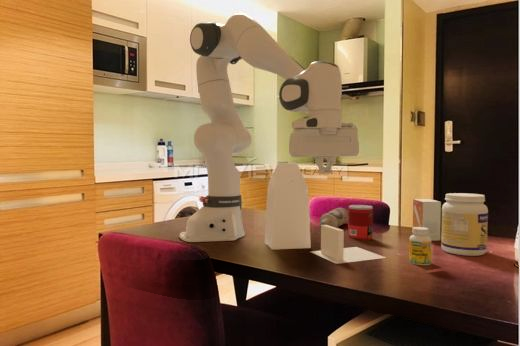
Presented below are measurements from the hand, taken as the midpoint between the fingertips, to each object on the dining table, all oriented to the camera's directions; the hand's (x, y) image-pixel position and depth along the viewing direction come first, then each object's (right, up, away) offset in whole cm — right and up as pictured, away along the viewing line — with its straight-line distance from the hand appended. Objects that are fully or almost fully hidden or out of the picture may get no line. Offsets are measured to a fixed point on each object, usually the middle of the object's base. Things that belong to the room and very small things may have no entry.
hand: (324, 173), depth 114 cm
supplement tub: (+42, -23, +10) cm, 49 cm away
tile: (+2, -23, +2) cm, 23 cm away
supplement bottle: (+24, -24, -4) cm, 34 cm away
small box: (+39, -22, +29) cm, 53 cm away
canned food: (+16, -22, +28) cm, 40 cm away
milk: (-9, -23, +17) cm, 30 cm away
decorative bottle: (+9, -21, +48) cm, 54 cm away
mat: (+7, -23, +4) cm, 25 cm away
